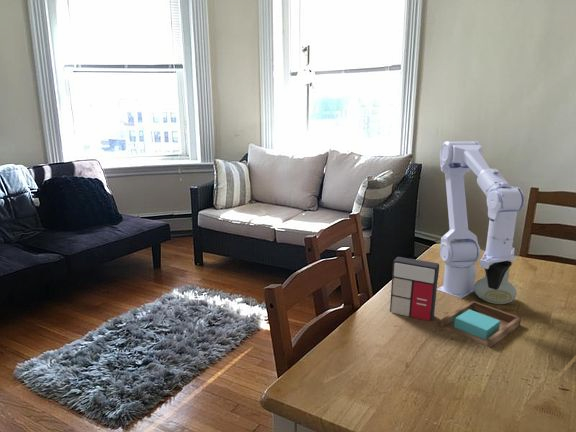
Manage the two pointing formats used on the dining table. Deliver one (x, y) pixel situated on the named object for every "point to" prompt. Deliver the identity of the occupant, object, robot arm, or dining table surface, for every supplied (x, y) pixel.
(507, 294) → the air freshener
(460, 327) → the cover plate
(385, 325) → the dining table surface
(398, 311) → the calculator
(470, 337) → the walnut box
